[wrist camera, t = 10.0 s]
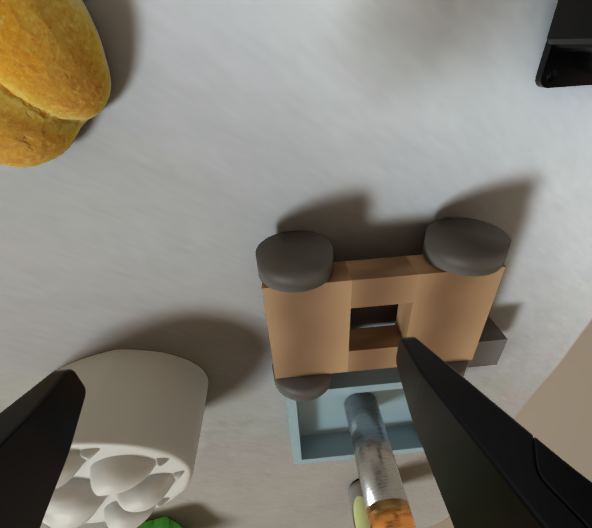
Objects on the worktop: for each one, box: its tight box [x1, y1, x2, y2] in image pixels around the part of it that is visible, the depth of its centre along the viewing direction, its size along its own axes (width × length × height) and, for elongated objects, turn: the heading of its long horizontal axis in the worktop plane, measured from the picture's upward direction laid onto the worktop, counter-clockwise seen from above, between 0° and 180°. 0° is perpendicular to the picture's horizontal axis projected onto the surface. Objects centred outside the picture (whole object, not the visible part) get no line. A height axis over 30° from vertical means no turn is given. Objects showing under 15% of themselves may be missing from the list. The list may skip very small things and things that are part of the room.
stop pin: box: [344, 392, 416, 528], centre depth 26 cm, size 3×3×10 cm
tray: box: [285, 367, 424, 465], centre depth 29 cm, size 13×11×3 cm
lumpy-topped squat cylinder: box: [42, 349, 208, 528], centre depth 25 cm, size 10×13×9 cm
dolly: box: [256, 218, 511, 401], centre depth 22 cm, size 17×12×4 cm
